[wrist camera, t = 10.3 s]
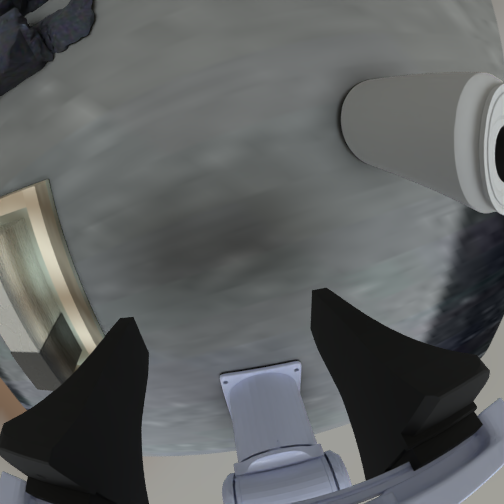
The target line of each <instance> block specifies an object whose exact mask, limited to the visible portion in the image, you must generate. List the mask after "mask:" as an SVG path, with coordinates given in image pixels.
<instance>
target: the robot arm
mask: <svg viewBox="0 0 504 504" xmlns="http://www.w3.org/2000/svg"><path fill="white" fill-rule="evenodd" d="M311 331H312V334H313V337H314V340H315V343H316V346H317V348H318V351H319V353H320V355H321V357H322V359H323V361H324V363H325V365H326V367H327V368H328V370H329V372H330V374H331V376H332V378H333V380H334V382H335V384H336V386H337V388H338V390H339V392H340V395H341V397H342V399H343V402H344V405H345V408H346V411H347V413H348V416H349V419H350V422H351V425H352V428H353V432H354V435H355V438H356V442H357V445H358V449H359V453H360V457H361V461H362V464H363V469H364V474H365V479H366V481H364V482H361V483H359V484H356V485H353V486H352V485H351V481H350V478H349V475H348V472H347V470H346V467H345V465H344V463H343V461H342V459H341V457H340V456H339V455H338V454H336V453H333V452H332V451H330V450H329V451H326V452H323V450H322V447H321V444H317V442H316V439H315V436H314V433H313V430H312V427H311V424H310V421H309V418H308V416H307V413H306V410H305V407H304V404H303V401H302V398H301V395H300V384H301V363H300V361H294V362H289V363H284V364H279V365H274V366H269V367H263V368H258V369H252V370H246V371H239V372H233V373H226V374H222V375H220V382H221V386H222V389H223V393H224V396H225V399H226V403H227V406H228V409H229V412H230V416H231V419H232V423H233V430H234V437H235V444H236V451H237V456H238V463H235V464H234V470H235V473H231V474H229V475H228V476H227V478H226V480H225V481H224V483H223V488H222V496H223V503H224V504H358V503H361V502H364V501H366V500H369V499H371V498H374V497H376V496H379V495H380V496H379V497H377V498H375V499H373V500H371V501H369V502H367V503H364V504H460V503H461V502H462V501H464V500H465V499H466V498H468V497H469V496H470V495H471V494H472V493H474V492H475V491H476V490H477V489H478V488H479V487H481V486H482V485H483V484H484V483H485V482H486V481H487V480H488V479H490V478H491V477H492V476H493V475H494V474H495V473H496V472H497V471H498V470H499V469H500V468H501V467H502V466H503V465H504V401H503V400H502V399H501V398H499V399H497V400H496V401H495V402H494V403H492V404H491V405H490V406H489V407H487V408H486V409H485V410H484V411H482V412H481V413H480V414H479V415H478V416H477V415H476V414H475V412H474V411H475V410H476V409H477V406H476V404H475V403H474V402H473V401H474V399H475V398H476V396H477V395H478V394H479V392H480V391H481V389H482V388H483V387H484V385H485V384H486V382H487V380H488V378H489V373H490V370H489V369H488V368H487V367H486V366H485V364H484V363H483V362H482V361H481V360H480V358H479V357H478V356H477V355H473V354H467V353H461V352H455V351H450V350H446V349H442V348H439V347H435V346H432V345H429V344H426V343H423V342H420V341H417V340H415V339H412V338H410V337H407V336H405V335H403V334H401V333H399V332H396V331H394V330H392V329H390V328H388V327H386V326H384V325H383V324H381V323H379V322H377V321H376V320H374V319H372V318H371V317H369V316H367V315H366V314H364V313H363V312H361V311H360V310H358V309H357V308H355V307H354V306H352V305H351V304H349V303H348V302H346V301H345V300H343V299H342V298H341V297H339V296H338V295H336V294H335V293H333V292H332V291H331V290H329V289H328V288H322V289H317V290H312V308H311ZM148 365H149V352H148V350H147V348H146V345H145V343H144V341H143V339H142V336H141V334H140V332H139V329H138V327H137V324H136V322H135V320H134V317H128V318H120V319H119V320H118V321H117V322H116V323H115V325H114V326H113V327H112V328H111V329H110V331H109V332H108V333H107V334H106V336H105V337H104V338H103V339H102V341H101V342H100V343H99V344H98V346H97V347H96V348H95V349H94V350H93V352H92V353H91V354H90V355H89V356H88V357H87V358H86V360H85V361H84V362H83V363H82V364H81V365H80V367H79V368H78V369H77V370H76V371H75V372H74V373H73V374H72V375H71V376H70V377H69V378H68V379H67V380H66V381H65V382H64V383H63V384H62V385H60V386H59V387H58V388H57V389H56V390H55V391H53V392H52V393H51V394H50V395H48V396H47V397H46V398H45V399H43V400H42V401H41V402H39V403H38V404H37V405H35V406H34V407H32V408H31V409H29V410H28V411H26V412H24V413H23V414H21V415H19V416H17V417H15V418H13V419H12V420H10V421H8V422H6V423H4V425H3V428H2V431H1V434H0V456H1V457H2V458H4V459H5V460H6V461H7V462H9V463H10V464H11V465H12V466H14V467H15V468H17V469H18V470H19V471H21V472H22V473H24V474H25V475H27V476H28V479H27V482H26V481H24V480H22V479H20V478H18V477H16V476H13V475H11V474H8V473H6V472H2V474H1V478H0V504H149V501H148V497H147V491H146V485H145V478H144V471H143V461H142V438H141V426H142V414H143V407H144V400H145V393H146V386H147V379H148Z"/></svg>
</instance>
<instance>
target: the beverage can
mask: <svg viewBox="0 0 504 504" xmlns="http://www.w3.org/2000/svg"><path fill="white" fill-rule="evenodd" d="M341 128H342V132H343V136H344V138H345V141H346V143H347V145H348V147H349V148H350V150H351V151H352V152H353V153H354V155H355V156H356V157H358V158H359V159H360V160H361V161H363V162H364V163H366V164H368V165H371V166H374V167H377V168H379V169H382V170H385V171H388V172H390V173H393V174H395V175H398V176H401V177H403V178H406V179H408V180H411V181H413V182H416V183H418V184H420V185H423V186H425V187H427V188H430V189H432V190H434V191H437V192H439V193H441V194H443V195H445V196H448V197H450V198H452V199H454V200H456V201H458V202H460V203H462V204H464V205H466V206H468V207H470V208H472V209H474V210H476V211H478V212H481V213H491V212H495V211H496V212H498V213H500V214H502V215H504V82H502V81H501V80H500V79H498V78H497V77H496V76H494V75H492V74H489V73H485V72H444V73H425V74H412V75H402V76H393V77H385V78H378V79H371V80H366V81H363V82H361V83H359V84H357V85H356V86H355V87H354V88H353V89H352V90H351V91H350V92H349V93H348V95H347V96H346V98H345V100H344V103H343V106H342V112H341Z"/></svg>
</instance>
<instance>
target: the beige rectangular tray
mask: <svg viewBox="0 0 504 504" xmlns="http://www.w3.org/2000/svg"><path fill="white" fill-rule="evenodd" d="M21 218H24V220H25V223H26V226H27V229H28V233H29V236H30V239H31V242H32V244H33V247H34V250H35V253H36V256H37V258H38V261H39V264H40V266H41V269H42V271H43V274H44V276H45V278H46V281H47V283H48V285H49V288H50V290H51V292H52V294H53V297H54V299H55V301H56V303H57V305H58V307H59V309H60V311H61V313H62V314H63V316H64V318H65V320H66V321H67V323H68V325H69V327H70V329H71V331H72V333H73V335H74V336H75V338H76V340H77V342H78V344H79V345H80V347H81V349H82V352H81V355H80V357H79V360H78V363H77V365H76V368H75V371H76V370H77V369H78V368H79V367H80V365H81V364H82V363H83V362H84V361H85V360H86V358H87V357H88V356H89V355H90V354H91V353H92V352H93V350H94V349H95V348H96V347H97V346H98V344H99V343H100V342H101V341H102V339H103V338H104V337H105V336H104V334H103V332H102V330H101V328H100V325H99V323H98V321H97V319H96V317H95V315H94V313H93V311H92V308H91V306H90V304H89V302H88V299H87V297H86V295H85V292H84V290H83V287H82V285H81V282H80V280H79V277H78V275H77V272H76V270H75V267H74V264H73V262H72V259H71V256H70V253H69V250H68V247H67V244H66V241H65V238H64V235H63V232H62V229H61V225H60V222H59V218H58V215H57V211H56V208H55V204H54V200H53V196H52V192H51V188H50V183H49V179H47V180H44V181H41V182H38V183H35V184H32V185H29V186H27V187H24V188H21V189H19V190H16V191H14V192H11V193H9V194H6V195H4V196H1V197H0V225H3V224H6V223H9V222H12V221H15V220H18V219H21ZM75 371H74V372H75Z"/></svg>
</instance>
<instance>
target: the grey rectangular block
mask: <svg viewBox="0 0 504 504" xmlns="http://www.w3.org/2000/svg"><path fill="white" fill-rule="evenodd" d="M0 334H1V336H2V337H3V339H4V341H5V342H6V344H7V345H8V347H9V348H10V350H11V354H12V356H13V357H14V359H15V360H16V361H17V363H18V364H19V366H20V367H21V368H22V370H23V371H24V372H25V374H26V375H27V376H28V378H29V379H30V380H31V382H32V383H33V384H34V385H35V387H36V388H37V389H40V390H50V391H55V390H56V389H57V388H58V387H59V386H60V385H62V384H63V383H64V382H65V381H66V380H67V379H68V378H69V377H70V376H71V375H72V374H73V373H74V371H75V368H76V365H77V363H78V360H79V357H80V355H81V352H82V349H81V347H80V345H79V344H78V342H77V340H76V338H75V336H74V335H73V333H72V331H71V329H70V327H69V325H68V323H67V321H66V320H65V318H64V316H63V314H62V313H61V311H60V309H59V307H58V305H57V303H56V301H55V299H54V297H53V294H52V292H51V290H50V288H49V285H48V283H47V281H46V278H45V276H44V274H43V271H42V269H41V266H40V264H39V261H38V258H37V256H36V253H35V250H34V247H33V244H32V242H31V239H30V236H29V233H28V229H27V226H26V223H25V220H24V218H21V219H18V220H15V221H12V222H9V223H6V224H3V225H0Z"/></svg>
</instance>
